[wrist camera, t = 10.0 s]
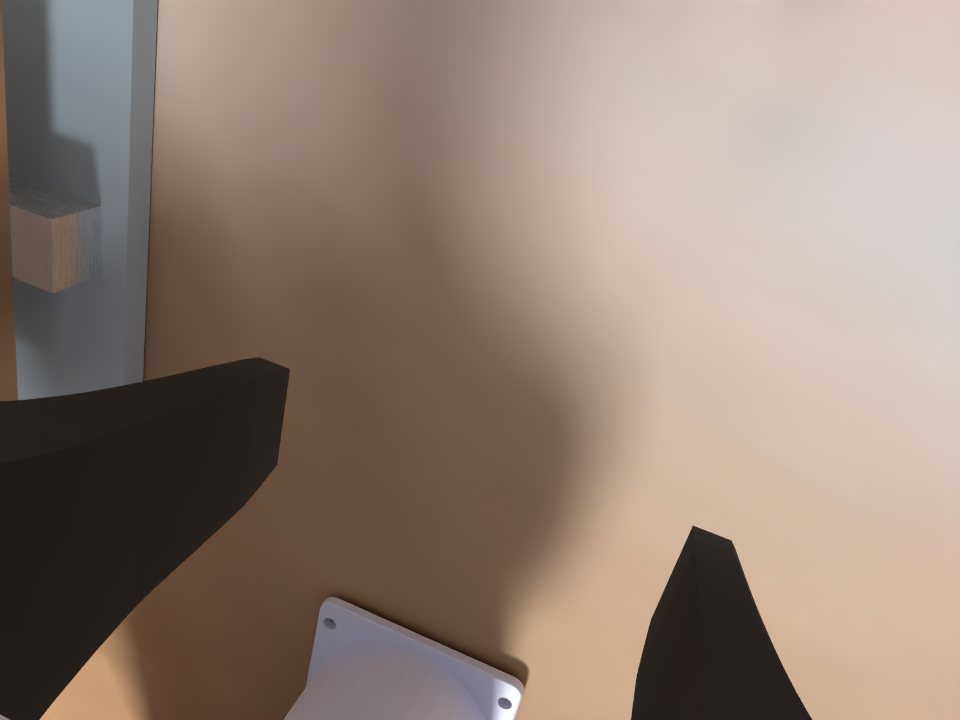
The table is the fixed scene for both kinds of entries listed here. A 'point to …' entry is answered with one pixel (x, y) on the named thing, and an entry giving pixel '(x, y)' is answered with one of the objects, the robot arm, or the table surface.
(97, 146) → the blue-grey flat rectangular panel
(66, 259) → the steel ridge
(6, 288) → the walnut plank
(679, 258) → the table surface
